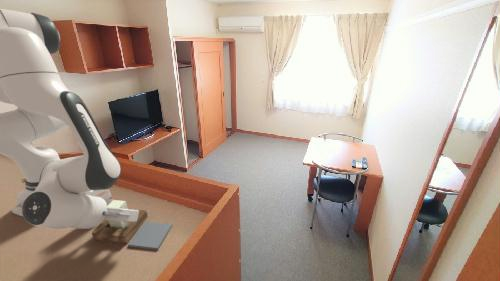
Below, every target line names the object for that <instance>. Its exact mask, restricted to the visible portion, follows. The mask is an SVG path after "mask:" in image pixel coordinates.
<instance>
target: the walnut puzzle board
mask: <svg viewBox="0 0 500 281" xmlns="http://www.w3.org/2000/svg"><path fill="white" fill-rule="evenodd" d="M131 209H132V210H138V211H139V215H138V219H137V221H136V222H129V223H128V224H127V225H126V226H125V227H124V229H117V228H111V227H110V224H109V221H108V220H103V221H102V223H101V224H99V225H98V226H96V227H95V229H93V230H92V231H91V236H92V238H93V240H96V241H103V242H104V241H105V242H112V243H118V244H119V243H120V244H121V243H122V244H129V243H130V241H131V240H132V239H133V237H134V236H135V235H136V233H137V232H138V231H139V229H140V228H141V227H142V225H143V224H144V223H145V221H147V219H148V213H147V210H145V209H144V210H143V209H134V208H131Z"/></svg>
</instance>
